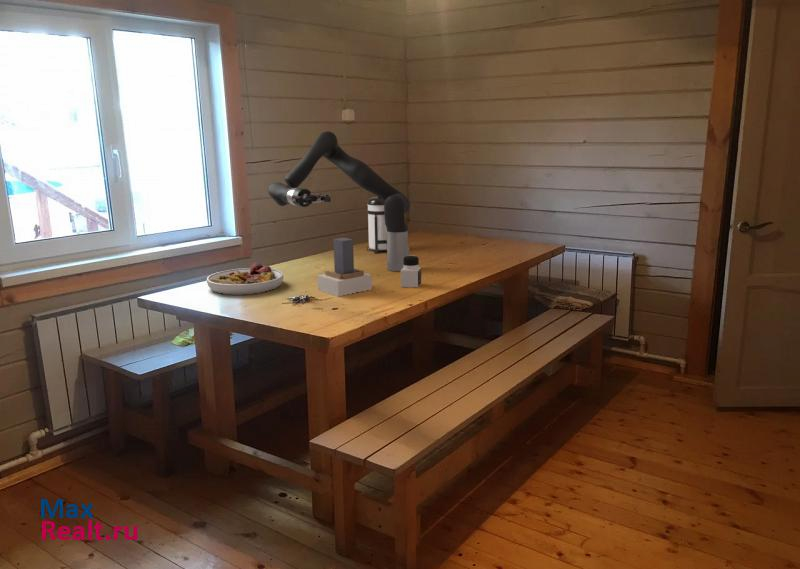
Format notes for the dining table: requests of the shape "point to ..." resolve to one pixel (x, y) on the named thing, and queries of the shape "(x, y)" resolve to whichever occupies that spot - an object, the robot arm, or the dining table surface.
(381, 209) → the coffee press
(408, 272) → the medicine bottle
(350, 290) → the stand
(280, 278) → the bowl
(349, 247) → the grey tall block
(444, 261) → the dining table surface
